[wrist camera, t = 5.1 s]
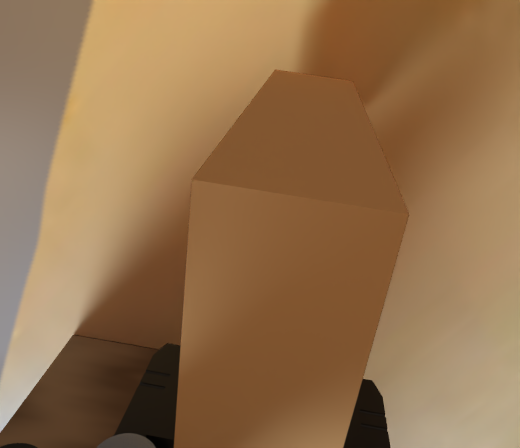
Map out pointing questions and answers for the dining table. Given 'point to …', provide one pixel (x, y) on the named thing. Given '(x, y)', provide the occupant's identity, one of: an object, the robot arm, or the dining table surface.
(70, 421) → the shelf stand
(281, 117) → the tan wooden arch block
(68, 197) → the dining table surface
